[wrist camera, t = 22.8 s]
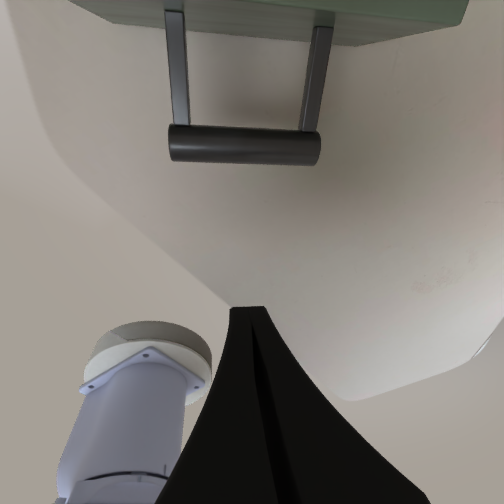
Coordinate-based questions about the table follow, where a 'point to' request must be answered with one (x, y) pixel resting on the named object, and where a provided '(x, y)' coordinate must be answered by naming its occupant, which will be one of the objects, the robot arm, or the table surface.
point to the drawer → (275, 27)
